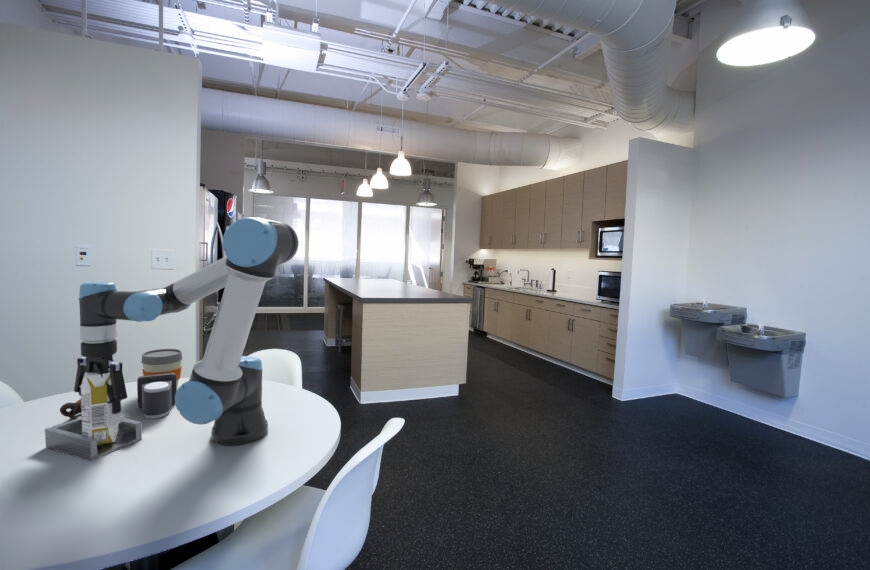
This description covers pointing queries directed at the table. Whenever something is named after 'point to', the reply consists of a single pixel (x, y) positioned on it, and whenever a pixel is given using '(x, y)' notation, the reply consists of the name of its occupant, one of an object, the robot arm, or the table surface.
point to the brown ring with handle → (74, 409)
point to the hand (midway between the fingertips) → (101, 421)
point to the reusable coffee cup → (162, 362)
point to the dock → (90, 439)
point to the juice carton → (96, 408)
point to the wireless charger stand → (156, 394)
